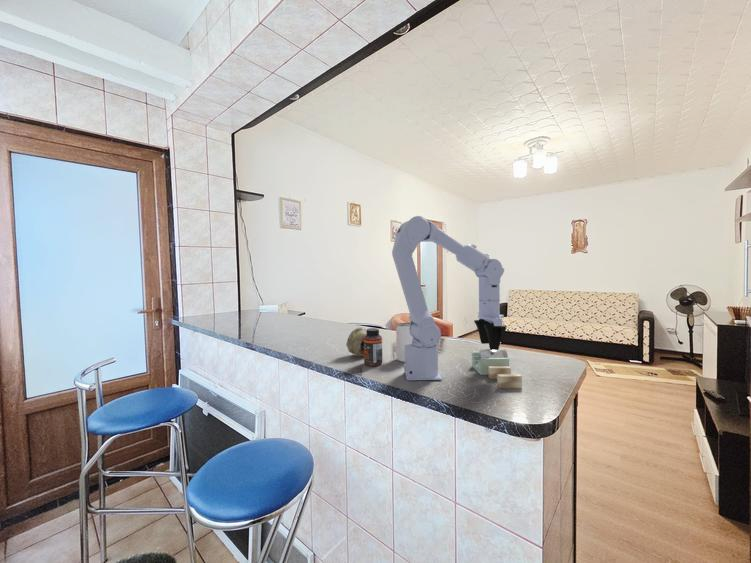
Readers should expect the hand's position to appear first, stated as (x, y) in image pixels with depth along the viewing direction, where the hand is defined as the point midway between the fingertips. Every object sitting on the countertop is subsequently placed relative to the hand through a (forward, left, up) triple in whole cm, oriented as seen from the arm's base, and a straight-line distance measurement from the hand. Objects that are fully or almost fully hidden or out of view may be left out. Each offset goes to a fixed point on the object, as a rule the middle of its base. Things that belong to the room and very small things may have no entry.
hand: (489, 346), depth 89 cm
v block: (0, 0, -7) cm, 7 cm away
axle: (+1, 0, -5) cm, 5 cm away
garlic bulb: (-39, +18, -7) cm, 44 cm away
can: (-23, +12, -7) cm, 27 cm away
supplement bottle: (-34, +8, -7) cm, 36 cm away
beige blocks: (0, -10, -7) cm, 12 cm away
